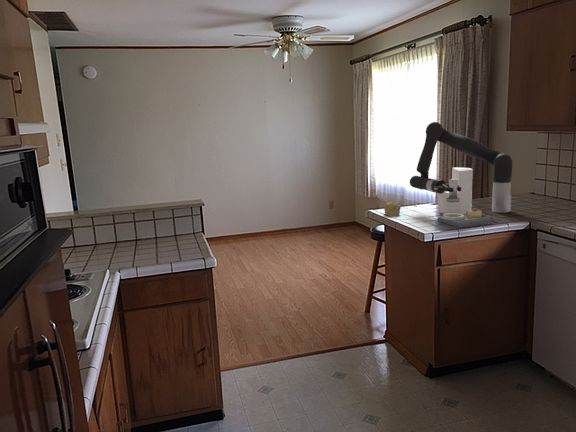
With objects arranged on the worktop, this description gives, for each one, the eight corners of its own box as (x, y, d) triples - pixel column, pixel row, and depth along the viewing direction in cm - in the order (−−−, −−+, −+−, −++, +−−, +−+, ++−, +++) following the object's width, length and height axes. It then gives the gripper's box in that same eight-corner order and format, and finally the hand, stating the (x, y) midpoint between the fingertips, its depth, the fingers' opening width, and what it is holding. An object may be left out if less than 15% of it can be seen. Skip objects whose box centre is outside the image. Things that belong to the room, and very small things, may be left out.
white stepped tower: (469, 208, 286) (470, 167, 280) (473, 214, 268) (475, 170, 263) (436, 208, 290) (437, 167, 285) (439, 214, 272) (439, 171, 267)
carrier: (467, 216, 263) (468, 203, 261) (491, 222, 246) (492, 208, 244) (437, 220, 256) (438, 207, 255) (460, 227, 239) (460, 212, 238)
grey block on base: (454, 199, 255) (454, 178, 253) (462, 201, 249) (463, 179, 246) (443, 200, 253) (443, 179, 251) (451, 202, 247) (452, 181, 244)
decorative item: (394, 222, 274) (405, 208, 272) (380, 212, 275) (391, 198, 272) (393, 219, 283) (404, 206, 281) (380, 209, 284) (390, 196, 281)
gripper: (425, 180, 260) (445, 183, 244) (447, 178, 264) (468, 181, 249) (425, 193, 261) (445, 198, 245) (446, 191, 266) (467, 195, 250)
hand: (456, 189), depth 247 cm, fingers closed on grey block on base, 4 cm apart
